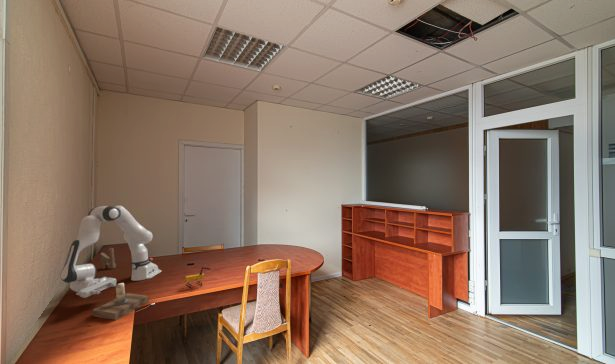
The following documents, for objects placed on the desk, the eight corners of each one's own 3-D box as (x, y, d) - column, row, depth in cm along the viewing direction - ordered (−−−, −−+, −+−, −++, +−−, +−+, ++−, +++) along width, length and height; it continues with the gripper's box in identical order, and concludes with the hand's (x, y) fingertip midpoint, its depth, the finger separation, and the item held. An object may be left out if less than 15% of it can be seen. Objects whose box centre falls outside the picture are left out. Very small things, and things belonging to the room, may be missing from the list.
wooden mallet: (104, 267, 248) (102, 248, 247) (116, 267, 248) (114, 247, 247) (101, 269, 245) (99, 249, 244) (113, 268, 244) (111, 248, 243)
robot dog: (211, 285, 201) (210, 267, 200) (184, 289, 195) (183, 271, 194) (211, 282, 206) (210, 264, 205) (185, 286, 200) (184, 268, 199)
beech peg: (123, 303, 176) (121, 281, 175) (132, 304, 173) (130, 282, 173) (111, 309, 169) (109, 286, 168) (120, 311, 166) (118, 287, 165)
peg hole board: (127, 298, 184) (127, 293, 184) (148, 301, 179) (148, 295, 179) (93, 316, 164) (92, 309, 163) (115, 320, 158) (115, 313, 158)
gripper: (73, 289, 169) (89, 291, 165) (106, 275, 188) (121, 277, 184) (74, 299, 169) (90, 301, 165) (107, 284, 189) (122, 286, 184)
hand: (107, 288), depth 175 cm, fingers open, 8 cm apart
